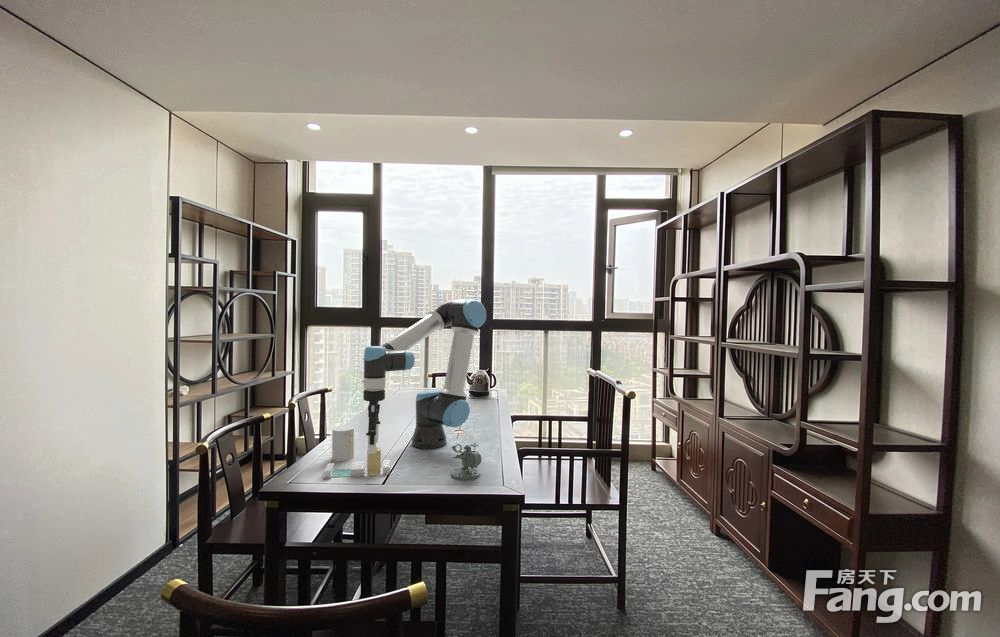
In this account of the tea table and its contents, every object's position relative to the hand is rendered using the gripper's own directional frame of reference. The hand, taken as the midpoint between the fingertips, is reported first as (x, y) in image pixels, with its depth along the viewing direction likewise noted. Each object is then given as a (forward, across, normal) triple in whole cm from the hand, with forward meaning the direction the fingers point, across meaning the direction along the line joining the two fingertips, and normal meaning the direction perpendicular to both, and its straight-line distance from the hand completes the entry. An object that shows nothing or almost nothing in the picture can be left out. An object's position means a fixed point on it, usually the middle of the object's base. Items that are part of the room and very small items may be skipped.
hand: (373, 447), depth 163 cm
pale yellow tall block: (+9, 0, 0) cm, 9 cm away
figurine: (+9, +8, +33) cm, 35 cm away
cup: (+9, -18, -12) cm, 24 cm away
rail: (+9, 0, -5) cm, 10 cm away
